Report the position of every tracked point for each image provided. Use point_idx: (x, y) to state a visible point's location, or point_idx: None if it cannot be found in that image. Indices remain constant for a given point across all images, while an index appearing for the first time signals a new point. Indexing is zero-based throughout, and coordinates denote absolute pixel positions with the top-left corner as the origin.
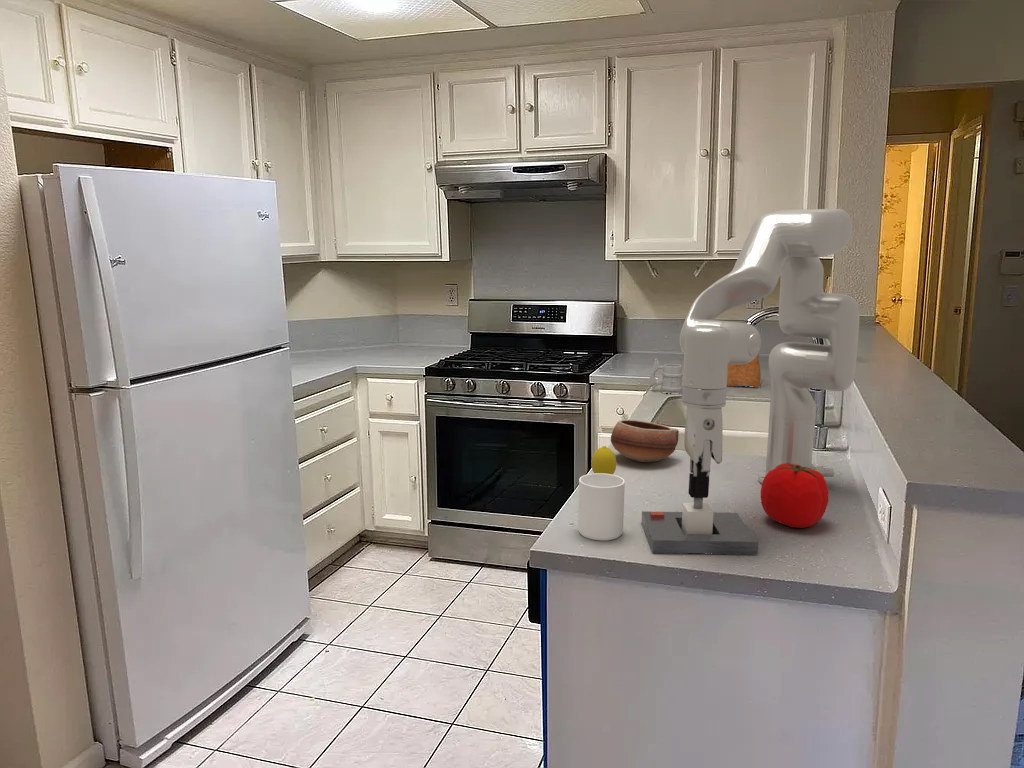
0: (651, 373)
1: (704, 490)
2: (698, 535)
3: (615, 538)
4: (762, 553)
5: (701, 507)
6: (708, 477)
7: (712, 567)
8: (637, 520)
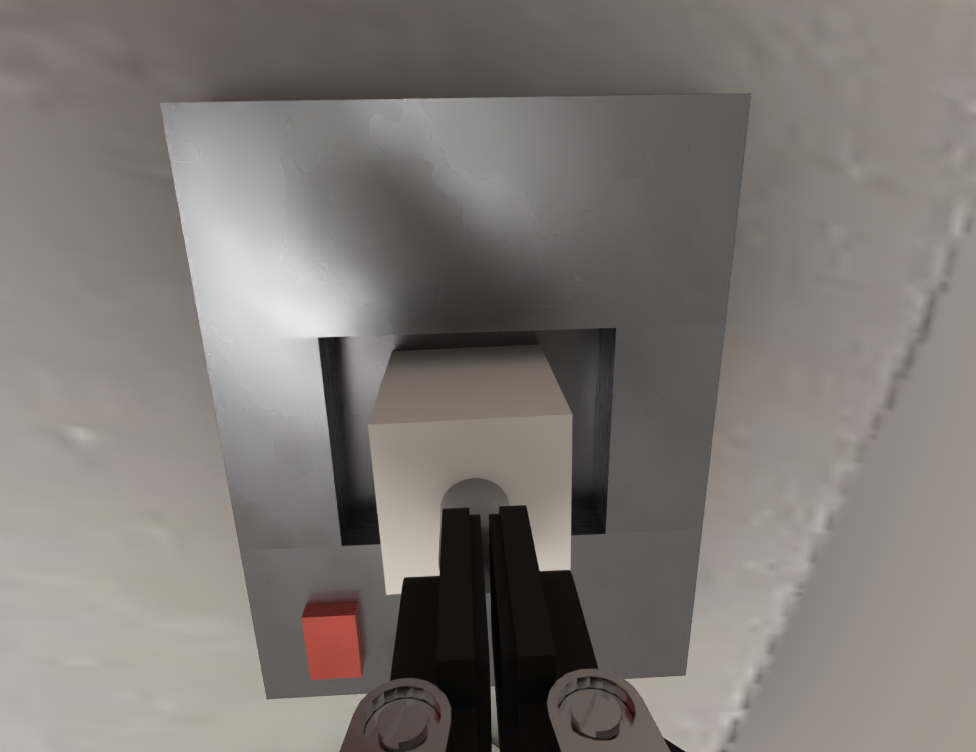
0: None
1: (575, 588)
2: (628, 457)
3: (499, 749)
4: (686, 59)
5: (504, 494)
6: (551, 651)
7: (840, 392)
8: (244, 657)
